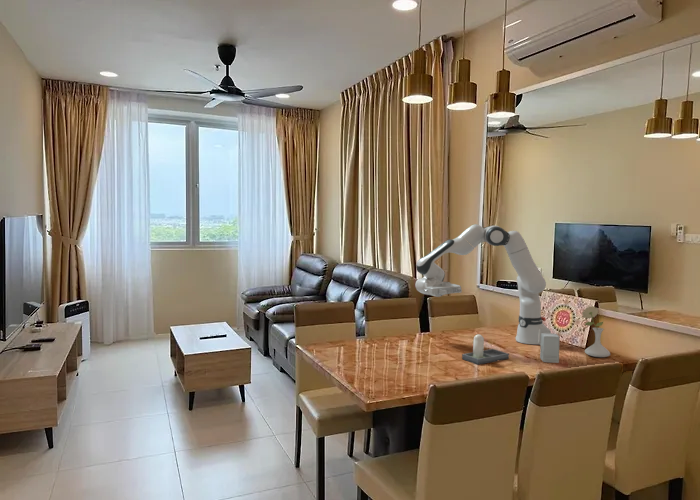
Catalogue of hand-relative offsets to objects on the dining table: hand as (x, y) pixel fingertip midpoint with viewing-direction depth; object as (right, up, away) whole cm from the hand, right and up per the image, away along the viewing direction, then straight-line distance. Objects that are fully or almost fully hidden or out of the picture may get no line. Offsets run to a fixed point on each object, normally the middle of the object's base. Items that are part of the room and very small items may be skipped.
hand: (454, 291), depth 252 cm
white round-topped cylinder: (+7, -30, -22) cm, 38 cm away
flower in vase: (+68, -31, -14) cm, 76 cm away
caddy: (+11, -31, -20) cm, 38 cm away
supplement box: (+41, -32, -22) cm, 56 cm away
